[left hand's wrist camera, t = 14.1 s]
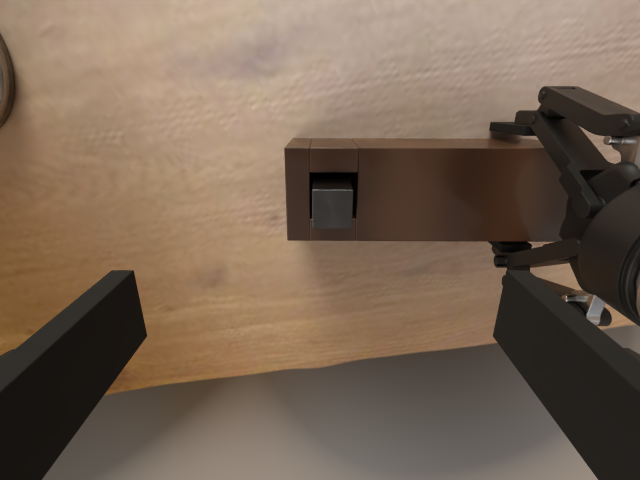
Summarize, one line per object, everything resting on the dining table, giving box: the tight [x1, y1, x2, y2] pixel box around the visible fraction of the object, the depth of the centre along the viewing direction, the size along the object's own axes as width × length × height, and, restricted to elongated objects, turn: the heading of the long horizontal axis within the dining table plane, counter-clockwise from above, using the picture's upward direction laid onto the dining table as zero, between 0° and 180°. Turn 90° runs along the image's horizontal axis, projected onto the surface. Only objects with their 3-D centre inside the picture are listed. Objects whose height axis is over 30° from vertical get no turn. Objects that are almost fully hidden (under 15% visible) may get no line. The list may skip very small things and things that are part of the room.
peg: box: [312, 172, 353, 229], centre depth 32 cm, size 3×3×12 cm
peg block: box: [285, 138, 568, 242], centre depth 34 cm, size 24×8×8 cm, turn 90°
